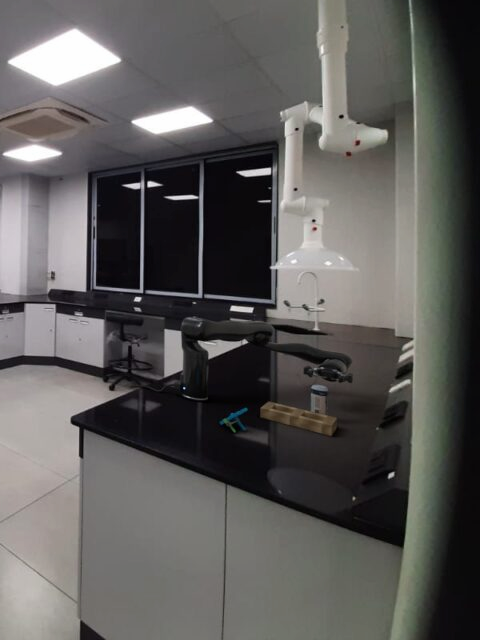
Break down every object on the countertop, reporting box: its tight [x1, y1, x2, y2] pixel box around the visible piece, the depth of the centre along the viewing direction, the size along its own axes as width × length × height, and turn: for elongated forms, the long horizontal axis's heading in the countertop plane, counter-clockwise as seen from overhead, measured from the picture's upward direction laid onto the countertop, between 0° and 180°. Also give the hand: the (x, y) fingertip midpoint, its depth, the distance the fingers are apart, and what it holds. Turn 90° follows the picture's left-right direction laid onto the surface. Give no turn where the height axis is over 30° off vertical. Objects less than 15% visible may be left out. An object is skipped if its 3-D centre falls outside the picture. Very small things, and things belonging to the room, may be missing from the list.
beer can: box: [310, 384, 329, 416], centre depth 147 cm, size 5×5×12 cm
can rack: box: [259, 401, 338, 437], centre depth 143 cm, size 20×11×4 cm, turn 41°
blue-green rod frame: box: [219, 407, 249, 433], centre depth 135 cm, size 11×6×10 cm
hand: (324, 377), depth 153 cm, fingers open, 8 cm apart
